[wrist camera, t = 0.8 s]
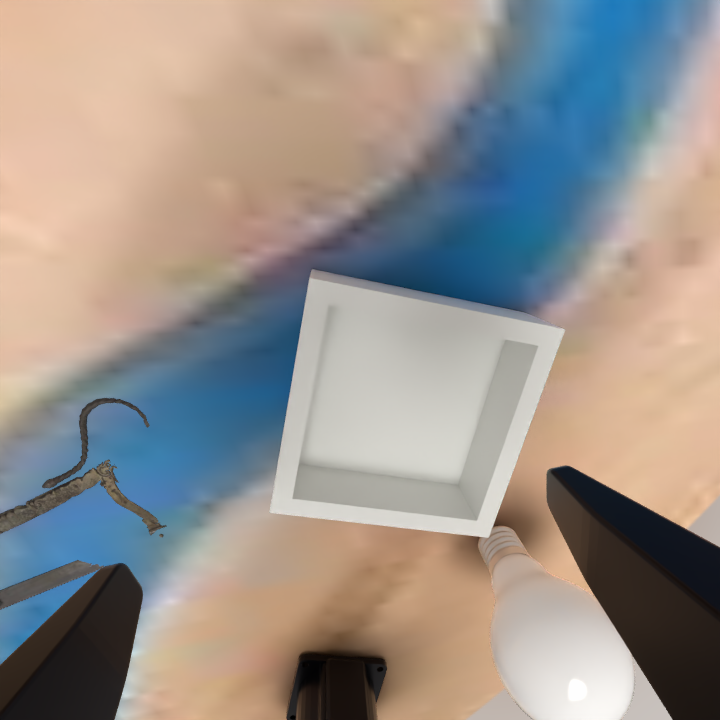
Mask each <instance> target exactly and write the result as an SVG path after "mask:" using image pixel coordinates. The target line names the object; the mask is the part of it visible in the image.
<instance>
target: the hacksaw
mask: <svg viewBox="0 0 720 720" xmlns="http://www.w3.org/2000/svg"><path fill="white" fill-rule="evenodd" d="M113 402H115V403H122V404H124V405H126V406H128V407H130V408H131V409H133V410H136V411H137V412H138V413H139V414H140V416H141V417H142V418H143V419H144V423H145V425H146V427H149V423H148V422H147V419H146V416H145V415H144V414H143V413H142V412H141V411H140V410H139V409H138V408H137V407H136V406H134V405H132V404H131V403H128V402H125V401H123V400H120V399H117V400H116V399H114V398H110V399H109V398H102V399H96V400H95V401H93V402H91V403H89V404H87V405H86V407H85V408H83V409H82V412H81V415H80V420H79V426H80V433H81V440H82V456H81V461H80V462H79V463H78V464H77V466H75V467H74V468H73V469H72V470H69V471H68V472H66V473H64V474H62V475H61V476H58V477H55V478H53V479H49V480H47V481H46V482H45V483H44V484H43V486H42V488H51V487H54V486H55V485H57V483H59V482H61V481H63V480H64V479H66V478H68V477H70V476H71V475H72V474H75V473H76V472H77V471H78V470H80V469H81V467H82V466H83V465H84V464H85V461H86V459H87V452H88V449H87V446H88V441H87V440H88V436H87V426H86V424H87V416H88V414H89V413H90V411H91V410H92V409H94V408H95V407H97V406H98V405H100V404H104V403H113ZM109 461H110V460H106V461H105V462H104V464H103V462H102V464H99V466H97V470H96V469H95V468H92V469H91V470H89V471H88V472H87V473H85V474H84V476H83V477H76V478H75V479H73V480H71V481H69V482H67V483H65V484H62V485H60V486H58V487H56V488H54V489H52V490H50V491H48V492H46V493H44V494H42V495H40V496H38V497H35V498H34V499H32V500H30V501H27V502H26V505H25V506H17V507H15V508H14V509H11V510H8V511H6V512H4V513H1V514H0V534H1V533H3V532H5V531H8V530H10V529H12V528H14V527H16V526H19V525H21V524H23V523H25V522H27V521H29V520H31V519H33V518H35V517H37V516H39V515H41V514H43V513H45V512H47V511H49V510H51V509H53V508H55V507H57V506H58V505H60V504H62V503H64V502H66V501H67V500H69V499H70V498H71V497H74V496H76V495H79V494H80V493H82V492H83V491H84V490H85V489H88V488H91V487H93V486H94V485H95V484H97V482H98V481H100V480H101V483H100V485H101V486H104V488H105V489H107V493H108V494H109V495H110V496H111V497H112V498H113V500H114V501H115V502H116V503H117V504H119V505H121V506H122V507H124V508H126V509H128V510H130V511H132V512H134V513H135V514H137V515H138V516H140V517H142V518H143V520H142V521H143V522H144V523H145V524H146V525H147V526H148V527H147V528H148V529H149V533H150V535H152V534H153V533H154V532H155V531H156V530H158V529H160V528H163V527H166V525H165V526H161V525H160V523H158V520H157V518H156V517H154V516H153V515H152V514H150V513H149V512H148V511H146V510H144V509H143V508H141V507H140V506H138V505H136V504H135V503H133V502H131V501H130V500H128V499H127V498H126V497H125V496H124V495H123V494H122V493H121V492H120V490H119V488H118V487H117V485H116V484H115V481H116V482H118V481H117V479H116V478H115V476H114V473H113V468H117V467H116V466H112V467H111V468H110V469H109V467H110V466H111V465H110V464H109V463H107V462H109ZM110 463H111V462H110ZM108 464H109V466H108ZM105 465H106V466H105ZM106 470H107V471H106ZM109 470H110V471H109ZM109 474H110V475H109ZM111 474H112V475H111ZM118 483H119V482H118ZM160 537H163V534H160ZM90 566H91V564H88V563H85V562H82V561H79V560H77V561H74V562H72V563H69V564H67V565H64V566H62V567H59V568H56V569H54V570H51V571H49V572H46V573H44V574H41V575H39V576H36V577H33V578H31V579H28V580H26V581H23V582H21V583H18V584H16V585H13V586H11V587H8V588H5V589H3V590H0V610H1V609H2V608H5V607H8V606H11V605H13V604H14V603H17V602H20V601H23V600H26V599H28V598H29V597H32V596H35V595H38V594H41V593H42V592H44V591H47V590H50V589H53V588H54V587H55V588H56V587H57V586H59V585H62V584H65V583H66V582H67V583H68V582H69V581H72V580H74V579H77V578H80V577H81V576H84V575H87V574H89V573H92V572H95V571H96V570H98V569H100V568H102V567H104V566H101V567H99V565H98V564H96V565H92V566H91V567H90Z"/></svg>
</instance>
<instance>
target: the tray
mask: <svg viewBox="0 0 720 720" xmlns="http://www.w3.org/2000/svg"><path fill="white" fill-rule="evenodd" d="M564 331H565V329H563V328H561V327H559V326H556V325H554V324H551V323H549V322H547V321H544V320H542V319H539V318H537V317H535V316H532V315H530V314H527V313H525V312H520V311H516V310H511V309H506V308H501V307H496V306H491V305H486V304H481V303H476V302H471V301H467V300H462V299H457V298H452V297H447V296H442V295H437V294H432V293H427V292H422V291H418V290H413V289H408V288H403V287H398V286H393V285H388V284H383V283H378V282H373V281H369V280H364V279H359V278H354V277H349V276H344V275H339V274H334V273H329V272H324V271H320V270H315V269H312V270H311V274H310V278H309V284H308V290H307V295H306V301H305V307H304V313H303V319H302V325H301V331H300V336H299V342H298V348H297V354H296V360H295V366H294V372H293V377H292V383H291V389H290V395H289V401H288V407H287V413H286V419H285V424H284V430H283V436H282V442H281V448H280V454H279V460H278V465H277V471H276V477H275V483H274V489H273V495H272V501H271V506H270V512H269V513H275V514H284V515H293V516H302V517H311V518H319V519H328V520H337V521H346V522H355V523H363V524H372V525H381V526H390V527H399V528H407V529H416V530H425V531H434V532H443V533H451V534H460V535H469V536H478V537H487V538H489V536H490V533H491V530H492V527H493V525H494V522H495V519H496V517H497V514H498V511H499V508H500V506H501V503H502V500H503V497H504V495H505V492H506V489H507V487H508V484H509V481H510V478H511V476H512V473H513V470H514V468H515V465H516V462H517V459H518V457H519V454H520V451H521V448H522V446H523V443H524V440H525V438H526V435H527V432H528V429H529V427H530V424H531V421H532V419H533V416H534V413H535V410H536V408H537V405H538V402H539V399H540V397H541V394H542V391H543V389H544V386H545V383H546V380H547V378H548V375H549V372H550V369H551V367H552V364H553V361H554V359H555V356H556V353H557V350H558V348H559V345H560V342H561V340H562V337H563V334H564Z"/></svg>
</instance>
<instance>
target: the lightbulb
mask: <svg viewBox="0 0 720 720" xmlns="http://www.w3.org/2000/svg"><path fill="white" fill-rule="evenodd" d="M478 549H479V551H480V554H481V555H482V557H483V560H484V561H485V564H486V566H487V568H488V570H489V572H490V574H491V576H492V577H491V584H492V590H493V594H494V598H495V604H494V608H493V612H492V617H491V623H490V648H491V654H492V658H493V662H494V665H495V668H496V671H497V673H498V676H499V678H500V680H501V682H502V684H503V685H504V687H505V689H506V690H507V692H508V694H509V695H510V696H511V698H512V699H513V700H514V702H515V703H516V704H517V705H518V706H519V707H520V709H522V710H523V712H525V713H526V714H527V715H528V716H529V717H530V718H531V719H533V720H622V718H623V717H624V716H625V714H626V712H627V711H628V709H629V706H630V704H631V702H632V698H633V694H634V689H635V667H634V661H633V657H632V654H631V653H630V651H629V649H628V648H627V646H626V645H625V643H624V641H623V640H622V638H621V637H620V635H619V634H618V632H617V630H616V629H615V627H614V626H613V624H612V622H611V621H610V619H609V618H608V616H607V614H606V613H605V611H604V610H603V608H602V607H601V605H600V603H599V602H598V600H597V599H596V597H594V596H593V595H592V594H591V593H589V592H588V591H586V590H585V589H583V588H582V587H580V586H578V585H576V584H574V583H572V582H570V581H568V580H565V579H563V578H560V577H557V576H555V575H552V574H551V573H549V572H548V571H547V570H546V569H545V568H544V567H543V566H542V565H541V564H540V563H539V562H538V561H537V560H535V559H534V558H532V557H531V556H530V555H529V553H528V552H527V551H526V549H525V547H524V546H523V544H522V542H521V541H520V539H519V537H518V536H517V534H516V533H515V531H514V530H513V529H511V528H509V527H507V526H495V527H492V530H491V533H490V536H489V538H487V537H480V539H479V541H478Z"/></svg>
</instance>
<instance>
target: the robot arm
mask: <svg viewBox="0 0 720 720" xmlns="http://www.w3.org/2000/svg"><path fill="white" fill-rule="evenodd" d="M547 503H548V506H549V509H550V511H551V513H552V515H553V517H554V519H555V521H556V523H557V525H558V527H559V529H560V531H561V533H562V535H563V537H564V539H565V541H566V543H567V545H568V547H569V549H570V551H571V553H572V555H573V557H574V559H575V561H576V563H577V565H578V567H579V569H580V571H581V573H582V575H583V577H584V578H585V580H586V582H587V584H588V585H589V587H590V589H591V591H592V592H593V594H594V595H595V597H596V599H597V600H598V602H599V603H600V605H601V607H602V608H603V610H604V611H605V613H606V614H607V616H608V618H609V619H610V621H611V622H612V624H613V626H614V627H615V629H616V630H617V632H618V634H619V635H620V637H621V638H622V640H623V641H624V643H625V645H626V646H627V648H628V649H629V651H630V653H631V654H632V656H633V657H634V659H635V660H636V662H637V664H638V665H639V667H640V668H641V670H642V671H643V673H644V675H645V676H646V678H647V679H648V681H649V683H650V684H651V686H652V687H653V689H654V691H655V692H656V694H657V695H658V697H659V699H660V700H661V702H662V703H663V705H664V706H665V708H666V710H667V711H668V713H669V714H670V716H671V718H672V719H673V720H720V547H718V546H716V545H715V544H713V543H711V542H709V541H707V540H705V539H704V538H702V537H700V536H698V535H696V534H694V533H693V532H691V531H689V530H687V529H685V528H683V527H682V526H680V525H678V524H676V523H674V522H672V521H670V520H669V519H667V518H665V517H663V516H661V515H659V514H657V513H656V512H654V511H652V510H650V509H648V508H646V507H645V506H643V505H641V504H639V503H637V502H635V501H633V500H632V499H630V498H628V497H626V496H624V495H622V494H621V493H619V492H617V491H615V490H613V489H611V488H609V487H608V486H606V485H604V484H602V483H600V482H598V481H597V480H595V479H593V478H591V477H589V476H587V475H585V474H584V473H582V472H580V471H578V470H576V469H574V468H572V467H570V466H560V467H556V468H551V469H549V470H548V471H547ZM142 599H143V592H142V587H141V585H140V584H139V582H138V581H137V579H136V578H135V576H134V575H133V574H132V572H131V571H130V569H129V568H128V566H127V565H125V564H123V563H118V564H114V565H109V566H105V567H103V568H101V569H100V570H99V571H98V572H96V573H95V574H94V575H93V576H92V577H91V578H90V579H89V580H88V581H87V582H86V583H85V584H84V585H83V586H82V587H81V588H80V589H79V590H78V591H77V592H76V593H75V594H74V595H73V596H72V597H70V598H69V599H68V600H67V601H66V602H65V603H64V604H63V605H62V606H61V607H60V608H59V609H58V610H57V611H56V612H55V613H54V614H53V615H52V616H51V617H50V618H49V619H48V620H47V621H46V622H44V623H43V624H42V625H41V626H40V627H39V628H38V629H37V630H36V631H35V632H34V633H33V634H32V635H31V636H30V637H29V638H28V639H27V640H26V641H25V642H24V643H23V644H22V645H21V646H20V647H18V648H17V649H16V650H15V651H14V652H13V653H12V654H11V655H10V656H9V657H8V658H7V659H6V660H5V661H4V662H3V663H2V664H1V665H0V720H114V719H115V716H116V712H117V709H118V706H119V702H120V699H121V695H122V692H123V688H124V685H125V681H126V676H127V672H128V668H129V663H130V658H131V653H132V648H133V644H134V639H135V634H136V629H137V624H138V619H139V614H140V609H141V604H142ZM386 670H387V666H386V661H385V660H383V659H374V658H359V657H343V656H327V655H312V654H304V655H301V656H300V657H299V659H298V664H297V668H296V673H295V677H294V682H293V686H292V691H291V695H290V700H289V704H288V709H287V717H286V718H287V720H378V719H377V710H376V702H377V699H378V696H379V693H380V690H381V686H382V683H383V680H384V677H385V674H386Z"/></svg>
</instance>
